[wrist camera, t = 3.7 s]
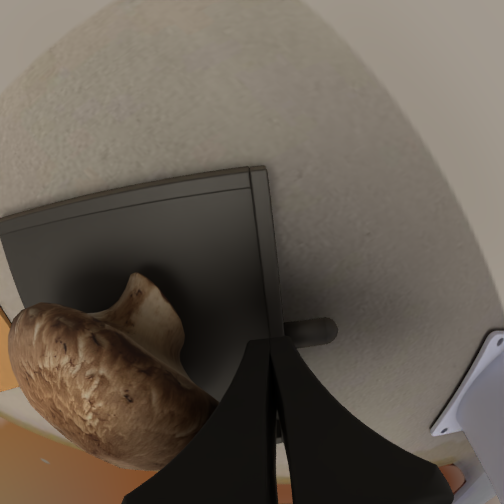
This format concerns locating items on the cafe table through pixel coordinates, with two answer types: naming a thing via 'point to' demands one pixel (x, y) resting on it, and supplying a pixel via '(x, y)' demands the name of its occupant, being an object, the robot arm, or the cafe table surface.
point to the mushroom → (111, 376)
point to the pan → (168, 262)
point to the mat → (5, 356)
